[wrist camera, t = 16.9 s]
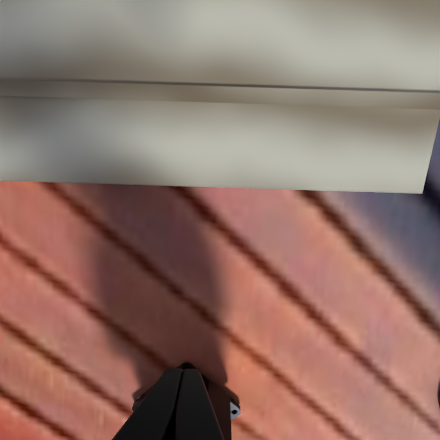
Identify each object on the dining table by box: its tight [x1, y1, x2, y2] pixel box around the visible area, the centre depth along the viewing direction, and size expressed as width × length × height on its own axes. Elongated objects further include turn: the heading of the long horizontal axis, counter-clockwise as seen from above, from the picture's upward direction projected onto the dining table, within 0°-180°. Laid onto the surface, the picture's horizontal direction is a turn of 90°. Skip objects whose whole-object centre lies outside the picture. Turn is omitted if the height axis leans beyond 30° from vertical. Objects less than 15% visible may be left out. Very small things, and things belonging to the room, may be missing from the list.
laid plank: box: [0, 0, 440, 193], centre depth 17 cm, size 10×28×2 cm, turn 88°
